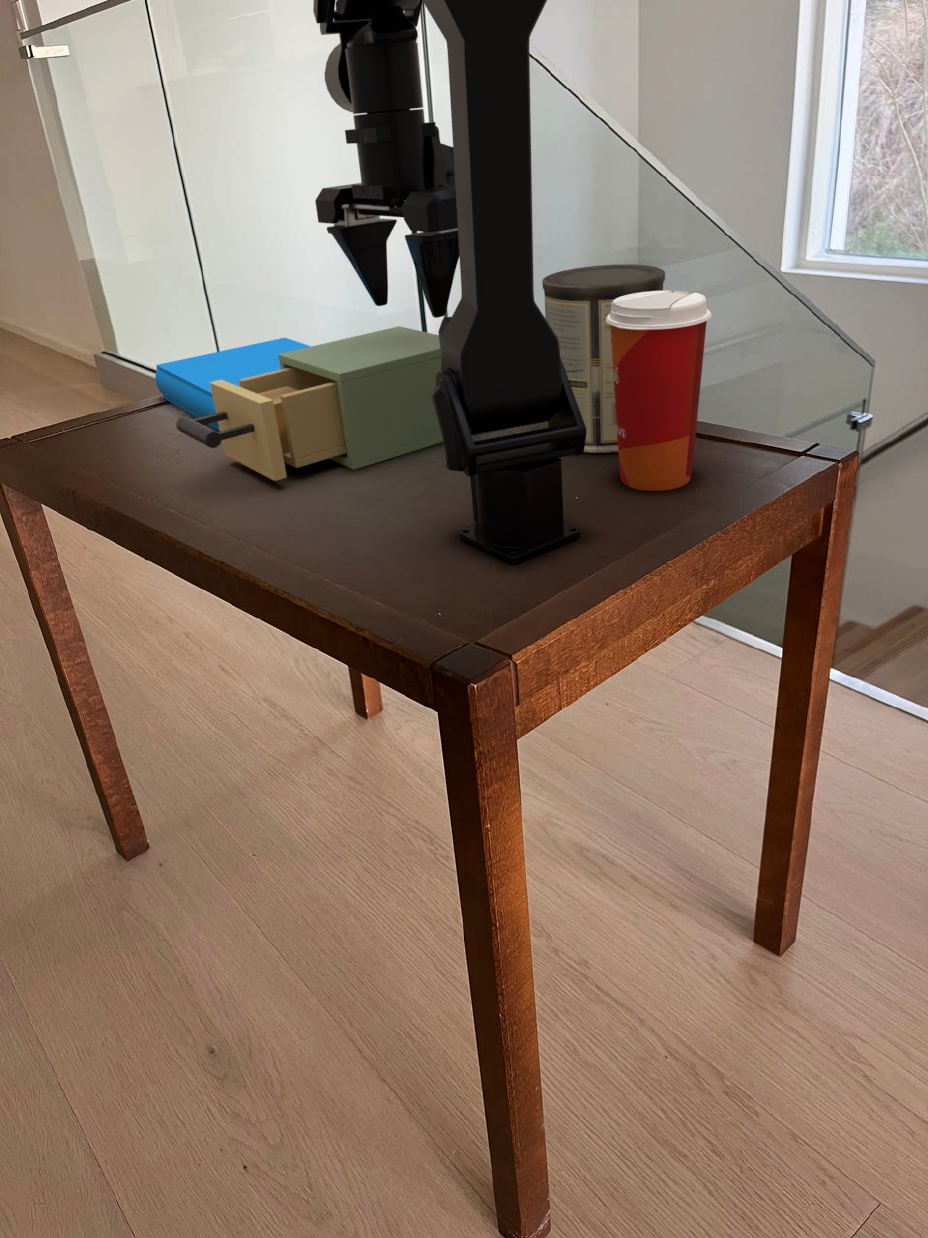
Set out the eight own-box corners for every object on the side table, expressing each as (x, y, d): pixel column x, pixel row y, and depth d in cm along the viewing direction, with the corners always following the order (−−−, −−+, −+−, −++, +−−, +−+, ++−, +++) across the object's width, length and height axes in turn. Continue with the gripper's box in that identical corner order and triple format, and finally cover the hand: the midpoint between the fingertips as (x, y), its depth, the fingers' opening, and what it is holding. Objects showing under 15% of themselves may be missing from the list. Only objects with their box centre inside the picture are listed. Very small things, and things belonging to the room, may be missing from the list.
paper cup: (644, 455, 82) (646, 285, 75) (723, 473, 76) (732, 292, 70) (586, 483, 77) (583, 305, 70) (666, 504, 72) (670, 314, 65)
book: (284, 337, 118) (385, 366, 99) (290, 371, 120) (391, 407, 101) (149, 365, 110) (232, 403, 91) (158, 402, 112) (241, 447, 93)
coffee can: (597, 411, 94) (595, 260, 87) (684, 429, 87) (690, 267, 80) (524, 440, 88) (516, 280, 81) (612, 462, 81) (611, 289, 74)
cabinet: (353, 470, 84) (339, 373, 80) (293, 442, 93) (277, 353, 89) (475, 432, 91) (468, 341, 87) (408, 409, 99) (399, 325, 95)
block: (319, 443, 85) (311, 394, 83) (273, 456, 83) (264, 406, 81) (295, 433, 89) (287, 385, 86) (251, 445, 86) (242, 397, 84)
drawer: (225, 496, 79) (208, 416, 75) (178, 467, 86) (161, 393, 83) (397, 444, 87) (388, 369, 84) (340, 421, 94) (330, 353, 91)
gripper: (539, 98, 74) (547, 305, 81) (407, 108, 87) (424, 285, 95) (421, 110, 68) (441, 330, 76) (300, 119, 82) (327, 305, 90)
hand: (409, 310), depth 84 cm, fingers open, 9 cm apart
